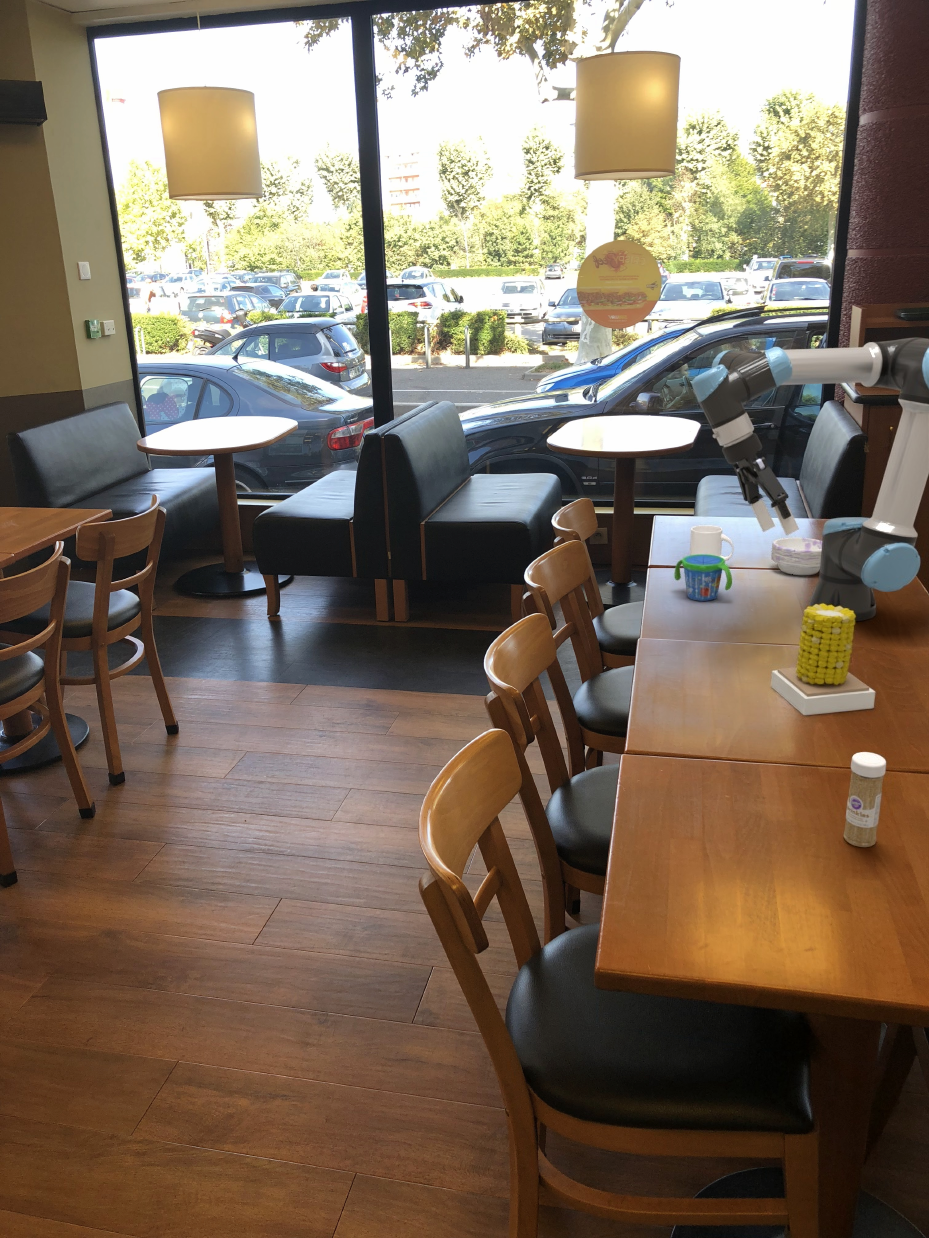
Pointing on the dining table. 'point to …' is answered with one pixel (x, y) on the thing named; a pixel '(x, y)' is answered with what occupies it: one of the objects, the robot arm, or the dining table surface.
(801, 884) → the dining table surface
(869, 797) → the sprinkles bottle
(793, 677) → the plinth
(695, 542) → the mug
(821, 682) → the food
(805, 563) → the paper bowls
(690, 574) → the snack cup
